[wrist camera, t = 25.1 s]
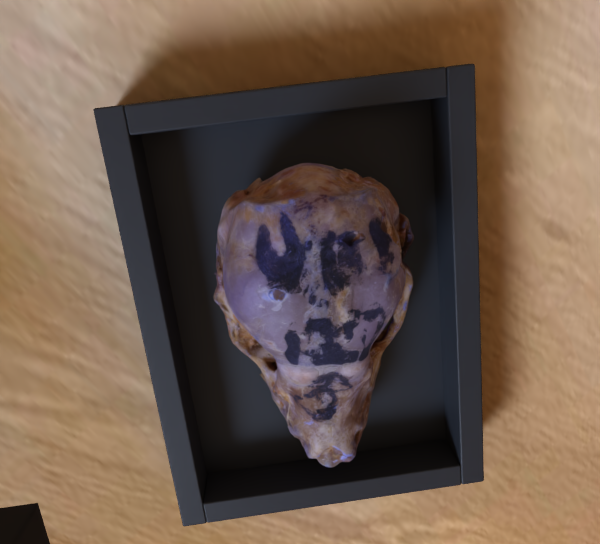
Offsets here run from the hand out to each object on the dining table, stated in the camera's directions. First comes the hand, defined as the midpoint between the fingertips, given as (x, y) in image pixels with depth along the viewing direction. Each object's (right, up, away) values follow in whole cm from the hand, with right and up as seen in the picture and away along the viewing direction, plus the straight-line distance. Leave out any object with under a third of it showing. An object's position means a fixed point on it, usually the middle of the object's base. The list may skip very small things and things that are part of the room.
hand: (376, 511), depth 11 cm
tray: (-1, +4, +12) cm, 13 cm away
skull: (-1, +4, +12) cm, 13 cm away
